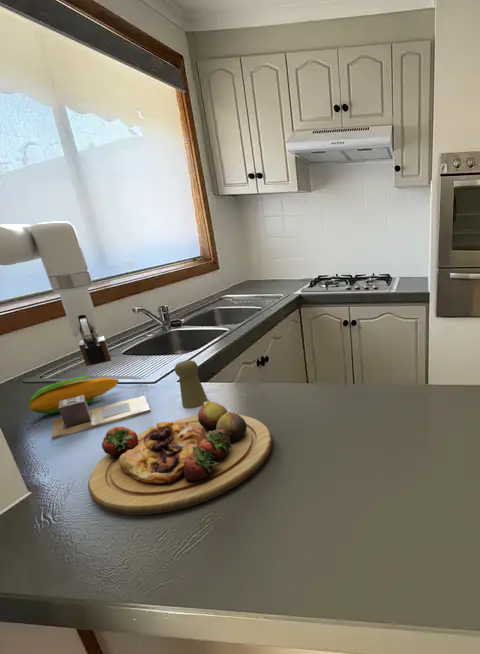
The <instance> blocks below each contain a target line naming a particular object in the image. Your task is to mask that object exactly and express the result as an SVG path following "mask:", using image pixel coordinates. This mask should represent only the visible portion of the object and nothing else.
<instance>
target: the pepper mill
mask: <svg viewBox="0 0 480 654" xmlns="http://www.w3.org/2000/svg"><path fill="white" fill-rule="evenodd" d="M198 371H199V366H198V364H197V363H196V361H195V360H191V359H188V360H182V361H179V362H177V363H176V364H175V365H174V372H175V374H176V376H177V377H178V379H179V389H180V395H181V396H180V397H181V405H182V408H184V409H194V408H195V409H196V408H199V407H202V404H203V403H204V402H208V401H209V400H208V397H207V394H206V391H205V390H204V387H203V385H202V382H201V379H200V378H199V375H198Z"/></svg>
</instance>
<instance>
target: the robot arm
mask: <svg viewBox="0 0 480 654" xmlns="http://www.w3.org/2000/svg"><path fill="white" fill-rule="evenodd" d="M39 259H41V262H42V265H43V268H44V270H45V273H46V276H47V279H48V281H49V284H50V288H51V290H52V292H53V293H59V296H60V300H61V303H62V306H63V310H64V312H65V316H66V318H67V322H68V324H69V328H70V331H71V334H72V336H73V337H75V338H76V337H78V335H80V336H81V338H82V339H81V340H83V342H84V345H85V351H86V354H87V357H88V360H89V362H90V364H91V365H90V366H95V365H99V363H100V364H104V363H107V362H106V358H105V355H104V352H103V349H102V346H101V345H100V344H99V341H98V338H97V337H99V335H98V332H99V324H98V318H97V315H96V311H95V306H94V303H93V300H92V297H91V294H90V291H89V288H92V287H94V283H93V280H92V277H91V274H90V271H89V268H88V265H87V262H86V258H85V256H84V252H83V250H82V246H81V243H80V240H79V237H78V234H77V230H76V228H75V226H74V225H73V224H72V223H71V222H69V221H63V220H61V221H50V222H48V221H47V222H39V223H35V224H22V223H18V224H17V223H15V224H14V223H10V224H9V223H8V224H7V223H3V224H0V266H11V265H16V264H20V263H26V262H31V261H34V260H39ZM95 341H96V342H95ZM103 362H104V363H103ZM94 364H95V365H94Z"/></svg>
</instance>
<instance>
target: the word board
mask: <svg viewBox="0 0 480 654" xmlns="http://www.w3.org/2000/svg"><path fill="white" fill-rule="evenodd" d="M89 410H90V413H91V421H88V422H84V423H80V424H77V425H73V426H69V427H66V426H65V424H64V421H63V419H62V416H60V417H57V418H54V419H53V424H52V431H51V439H52V440H54V439H55V440H56V439H58V438H61V437H65V436H68V435H72V434H76V433H79V432H82V431H86V430H90V429H93V428H97V427H100V426H105V425H108V424H112V423H115V422H118V421H122V420H126V419H128V418H132V417H133V418H134V417H136V416H139V415H144V414H146V413H151V408H150V405H149V403H148V400H147V397H146V394H145V395H140V396H137V397H132V398H129V399H126V400H125V399H124V400H122V401H117V402H114V403H110V404H105V405H103V406H98V407H95V408H91V409H89Z"/></svg>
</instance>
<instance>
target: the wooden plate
mask: <svg viewBox="0 0 480 654" xmlns="http://www.w3.org/2000/svg"><path fill="white" fill-rule="evenodd" d="M272 447H273V437H272V433H271V432H270V429H269V428H268V426H266V425H265V424H264V423H262V422H261V421H259V420H258V419H256V418H255V417H250V416H247V415H243V414H238V413H235V412H230V411H228V410H227V408H226V407H225V406H223V405H222V404H221V403H218V402H215V401H211V400H208V401H207V402H204V403H203V404H202V405H201V406H200V409H199V410H198V414H197V415H194V416H189V417H185V418H179V419H176V420H173V421H162V422H161V421H160V422H157V423H156V425H155V426H150V427H149V428H148V429H147V430H145V431H142V432H140V433H138V434H137V433H136V431H134V430H132V429H131V428H129V427H125V426H113V427H112V428H110V429H109V430H107V432H106V434H105V436H104V437H103V440H102V442H101V448H102V450H103V453H104V454H105V456H103V457H102V459H100V461H98V463H97V464H96V465H95V467H94V468H93V470H92V472H91V474H90V475H89V480H88V482H87V483H88V484H87V485H88V486H87V489H88V492H89V495H90V497H91V499H92V500H93V502H94V503H95V504H96V505H97V506H99V507H101V508H102V509H105V510H107V511H110V512H112V513H116V514H122V515H131V516H132V515H134V516H136V515H137V516H138V515H140V516H141V515H142V516H143V515H145V516H146V515H156V514H163V513H168V512H173V511H177V510H181V509H186V508H190V507H193V506H195V505H198V504H201V503H203V502H206V501H209V500H211V499H213V498H216V497H218V496H220V495H222V494H224V493H227V492H228V491H230V490H232V489H234V488H236V487H237V486H239V485H240V484H241V483H243V482H245V480H247V479H248V478H249V477H251V476H252V475H253V474H255V472H257V471H258V470H259V469H260V467H261V466H262V465H263V464H264V463H265V462H266V460H267V459H268V458H269V457H268V456H269V455H270V453H271V450H272Z"/></svg>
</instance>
